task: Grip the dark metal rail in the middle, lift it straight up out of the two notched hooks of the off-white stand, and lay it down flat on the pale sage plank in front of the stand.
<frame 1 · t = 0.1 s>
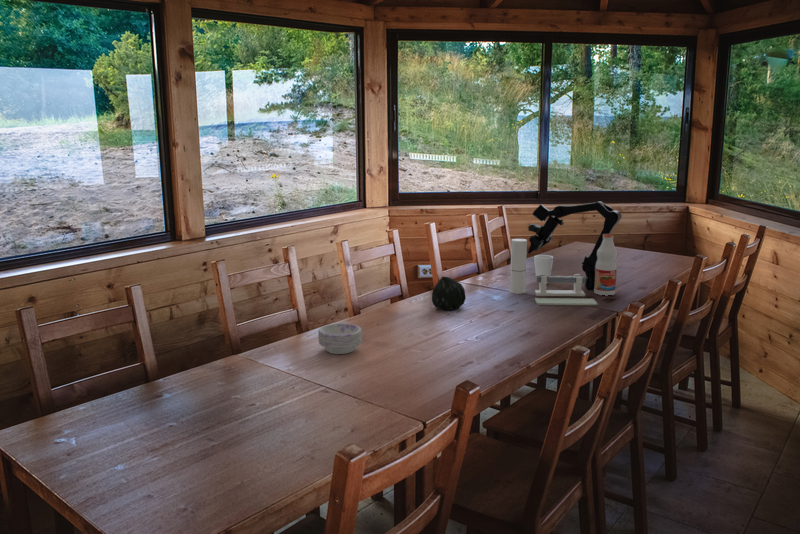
hand: (531, 251, 317), 15 cm above the table, tool tilted 35°, fingers open, 9 cm apart
cylindrical container: (517, 292, 298), on the table
fruit juice: (604, 294, 294), on the table
pale sage plank: (565, 302, 279), on the table
squash: (448, 308, 273), on the table
paper bowls: (340, 350, 223), on the table
metal rail: (560, 281, 292), point 6 cm above the table, touching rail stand
foam cup: (542, 282, 317), on the table
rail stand: (559, 294, 293), on the table
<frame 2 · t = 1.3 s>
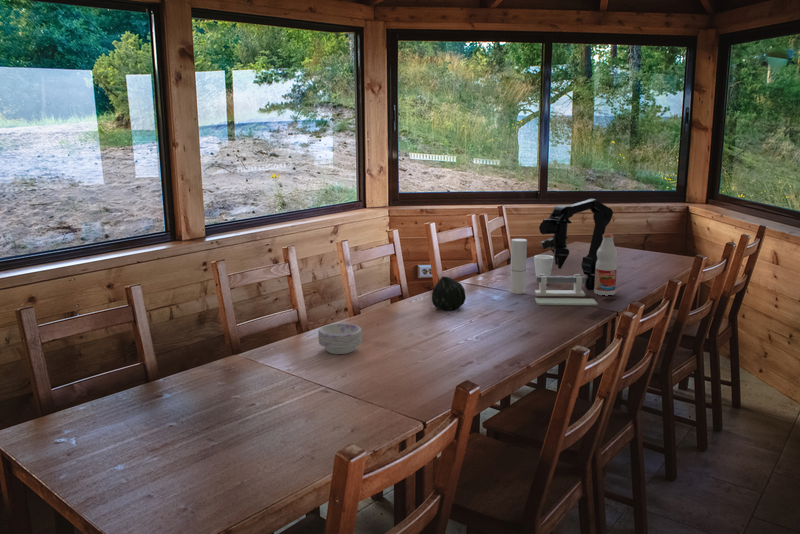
hand: (558, 266, 291), 13 cm above the table, tool pointing down, fingers open, 9 cm apart
nothing on the table moved.
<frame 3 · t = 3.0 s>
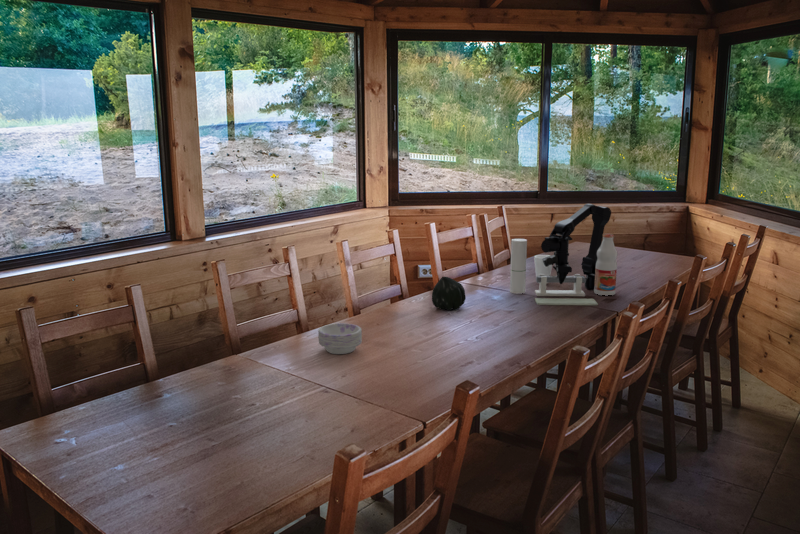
hand: (560, 283, 292), 5 cm above the table, tool pointing down, fingers closed on metal rail, 3 cm apart
metal rail: (560, 281, 292), point 6 cm above the table, touching gripper, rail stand
everything else where it was.
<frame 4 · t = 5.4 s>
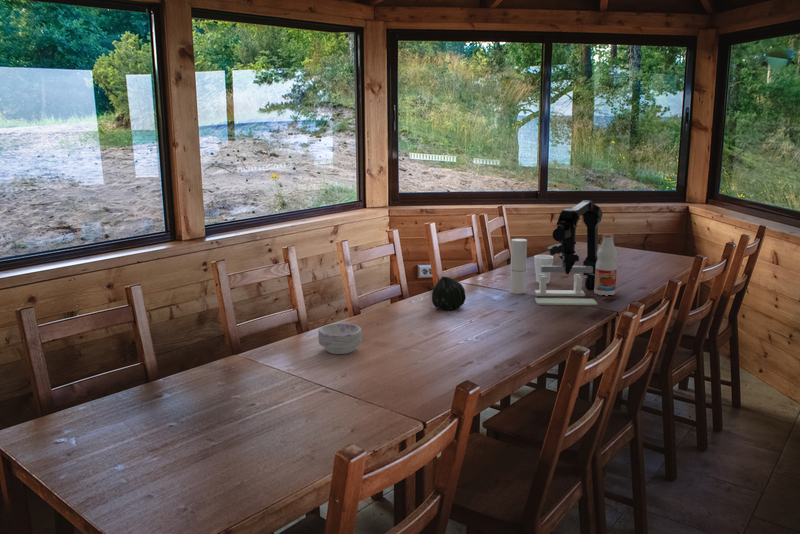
hand: (566, 273, 277), 13 cm above the table, tool pointing down, fingers closed on metal rail, 3 cm apart
metal rail: (566, 271, 277), point 14 cm above the table, touching gripper
everything else where it was.
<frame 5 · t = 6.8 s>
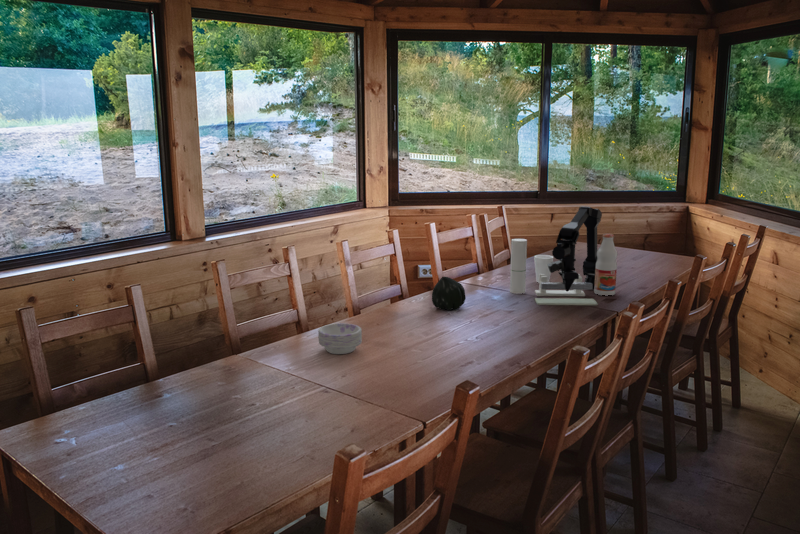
hand: (566, 290, 278), 6 cm above the table, tool pointing down, fingers closed on metal rail, 3 cm apart
metal rail: (566, 288, 278), point 6 cm above the table, touching gripper
everything else where it was.
when the fingers open (2 cm above the table, at t = 7.8 s): metal rail drops 1 cm, resting on pale sage plank.
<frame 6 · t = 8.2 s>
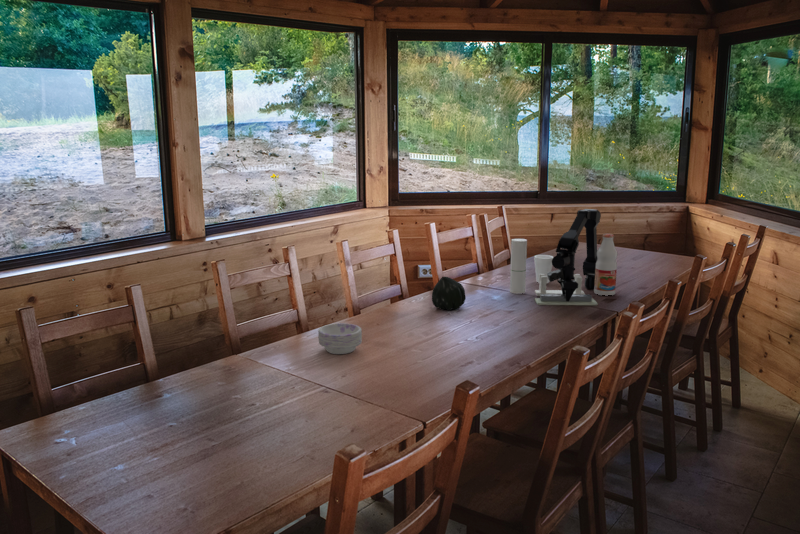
hand: (565, 299, 279), 2 cm above the table, tool pointing down, fingers open, 7 cm apart
metal rail: (565, 300, 279), point 1 cm above the table, touching pale sage plank
everything else where it was.
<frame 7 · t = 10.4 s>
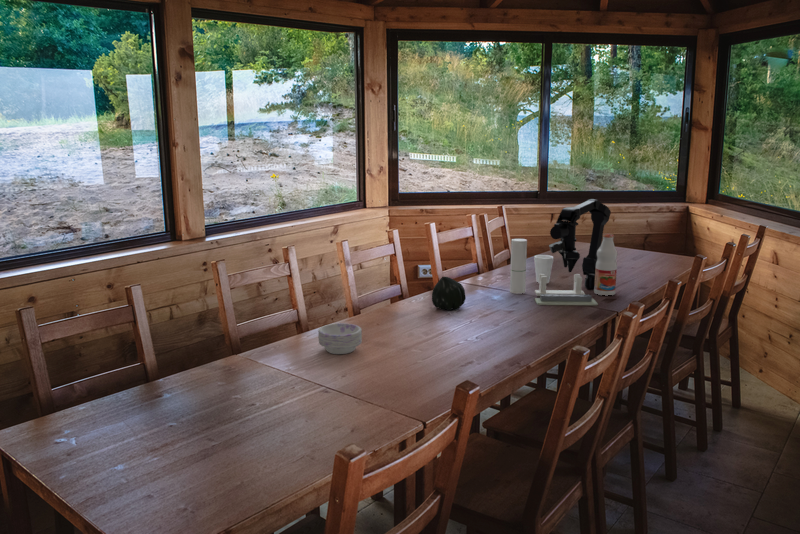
hand: (567, 269, 287), 12 cm above the table, tool pointing down, fingers open, 9 cm apart
nothing on the table moved.
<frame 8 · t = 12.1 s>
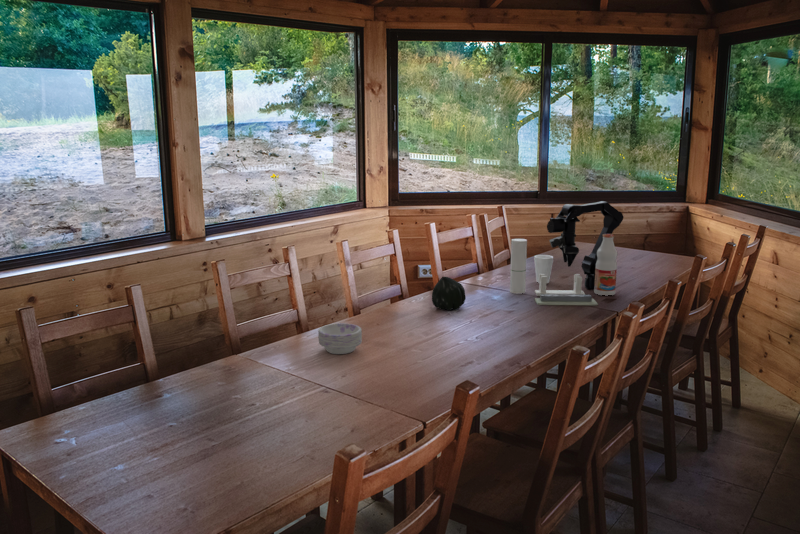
hand: (567, 264, 296), 13 cm above the table, tool pointing down, fingers open, 9 cm apart
nothing on the table moved.
at the end: metal rail inside the target area on the pale sage plank (0.1 cm from its centre), point 0.8 cm above the pale sage plank's base; metal rail touching pale sage plank; the gripper is holding nothing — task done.
